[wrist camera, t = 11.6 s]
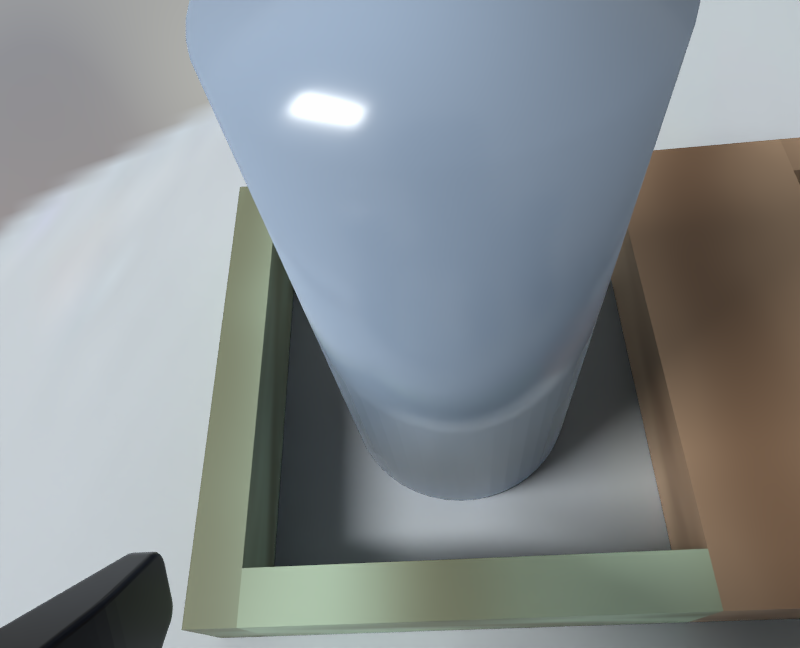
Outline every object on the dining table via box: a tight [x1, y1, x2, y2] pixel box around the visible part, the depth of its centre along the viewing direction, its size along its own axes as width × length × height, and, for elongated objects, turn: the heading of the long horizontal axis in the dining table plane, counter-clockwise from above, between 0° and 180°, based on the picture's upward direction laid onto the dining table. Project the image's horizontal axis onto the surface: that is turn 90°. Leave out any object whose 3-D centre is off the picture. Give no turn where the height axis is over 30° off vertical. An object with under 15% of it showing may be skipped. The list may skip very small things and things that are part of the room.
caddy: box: [182, 138, 800, 638], centre depth 17 cm, size 27×12×2 cm, turn 91°
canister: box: [186, 0, 700, 500], centre depth 13 cm, size 6×6×12 cm
